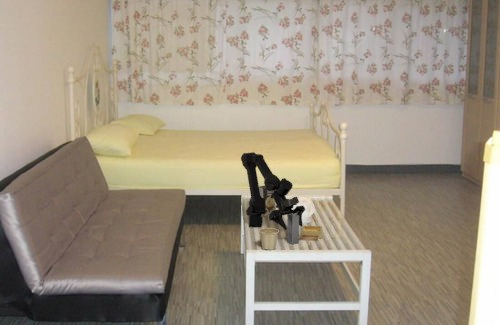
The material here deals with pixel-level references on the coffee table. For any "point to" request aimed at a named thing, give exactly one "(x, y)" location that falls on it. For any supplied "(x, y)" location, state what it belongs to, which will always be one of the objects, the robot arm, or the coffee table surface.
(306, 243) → the coffee table surface
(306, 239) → the door edge strip
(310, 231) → the keeper
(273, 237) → the flower pot
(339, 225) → the coffee table surface
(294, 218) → the bar
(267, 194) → the coffee box
